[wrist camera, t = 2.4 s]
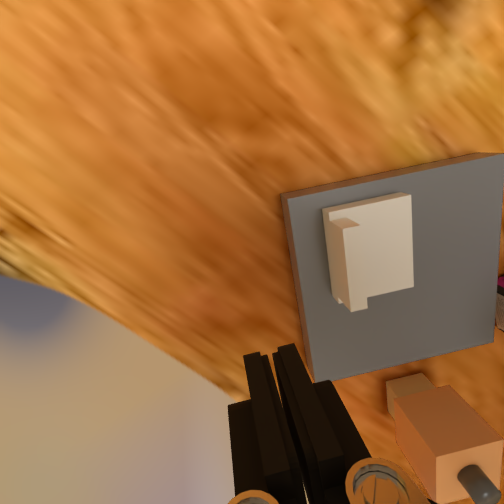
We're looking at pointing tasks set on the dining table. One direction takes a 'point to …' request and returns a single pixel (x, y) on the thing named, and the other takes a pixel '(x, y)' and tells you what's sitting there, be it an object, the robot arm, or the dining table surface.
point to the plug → (445, 441)
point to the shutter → (369, 248)
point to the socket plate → (424, 268)
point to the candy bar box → (500, 304)
